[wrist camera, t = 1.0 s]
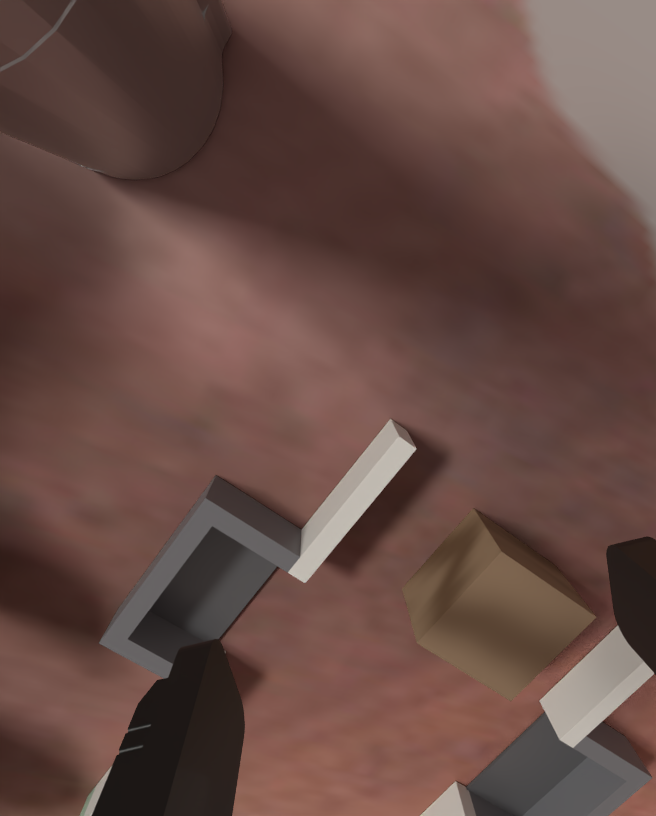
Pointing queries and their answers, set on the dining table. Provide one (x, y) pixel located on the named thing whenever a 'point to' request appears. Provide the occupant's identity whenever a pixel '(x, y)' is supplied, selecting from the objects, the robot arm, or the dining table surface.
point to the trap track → (301, 556)
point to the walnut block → (493, 606)
